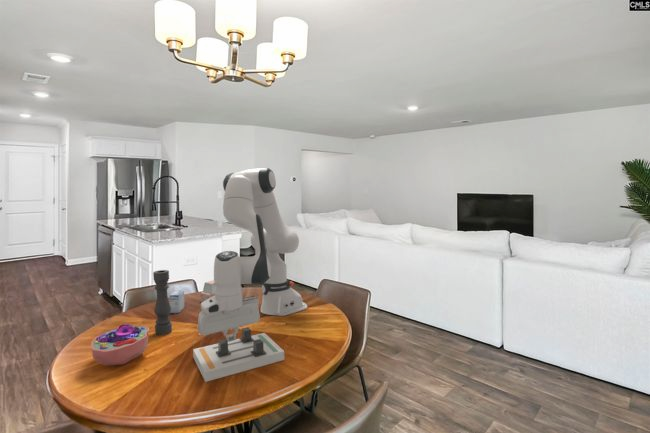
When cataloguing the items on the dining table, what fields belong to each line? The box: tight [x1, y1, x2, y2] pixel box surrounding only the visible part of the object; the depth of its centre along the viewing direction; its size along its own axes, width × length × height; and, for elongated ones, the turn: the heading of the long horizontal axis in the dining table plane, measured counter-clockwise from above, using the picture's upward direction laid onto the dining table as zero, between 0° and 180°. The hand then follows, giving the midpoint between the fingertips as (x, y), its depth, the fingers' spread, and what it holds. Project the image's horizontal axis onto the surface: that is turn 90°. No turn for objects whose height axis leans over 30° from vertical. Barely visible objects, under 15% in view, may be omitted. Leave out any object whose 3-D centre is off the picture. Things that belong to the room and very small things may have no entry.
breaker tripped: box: [216, 338, 231, 357], centre depth 117 cm, size 4×4×4 cm
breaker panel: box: [192, 332, 285, 383], centre depth 120 cm, size 26×18×3 cm
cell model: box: [90, 323, 150, 367], centre depth 119 cm, size 17×20×11 cm
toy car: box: [200, 279, 216, 302], centre depth 184 cm, size 9×15×10 cm, turn 145°
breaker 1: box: [239, 327, 254, 343], centre depth 127 cm, size 4×4×4 cm
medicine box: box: [168, 290, 185, 314], centre depth 168 cm, size 8×4×9 cm, turn 5°
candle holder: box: [152, 269, 173, 336], centre depth 141 cm, size 6×6×25 cm
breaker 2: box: [251, 339, 266, 357], centre depth 117 cm, size 4×4×4 cm
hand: (230, 340), depth 118 cm, fingers closed
